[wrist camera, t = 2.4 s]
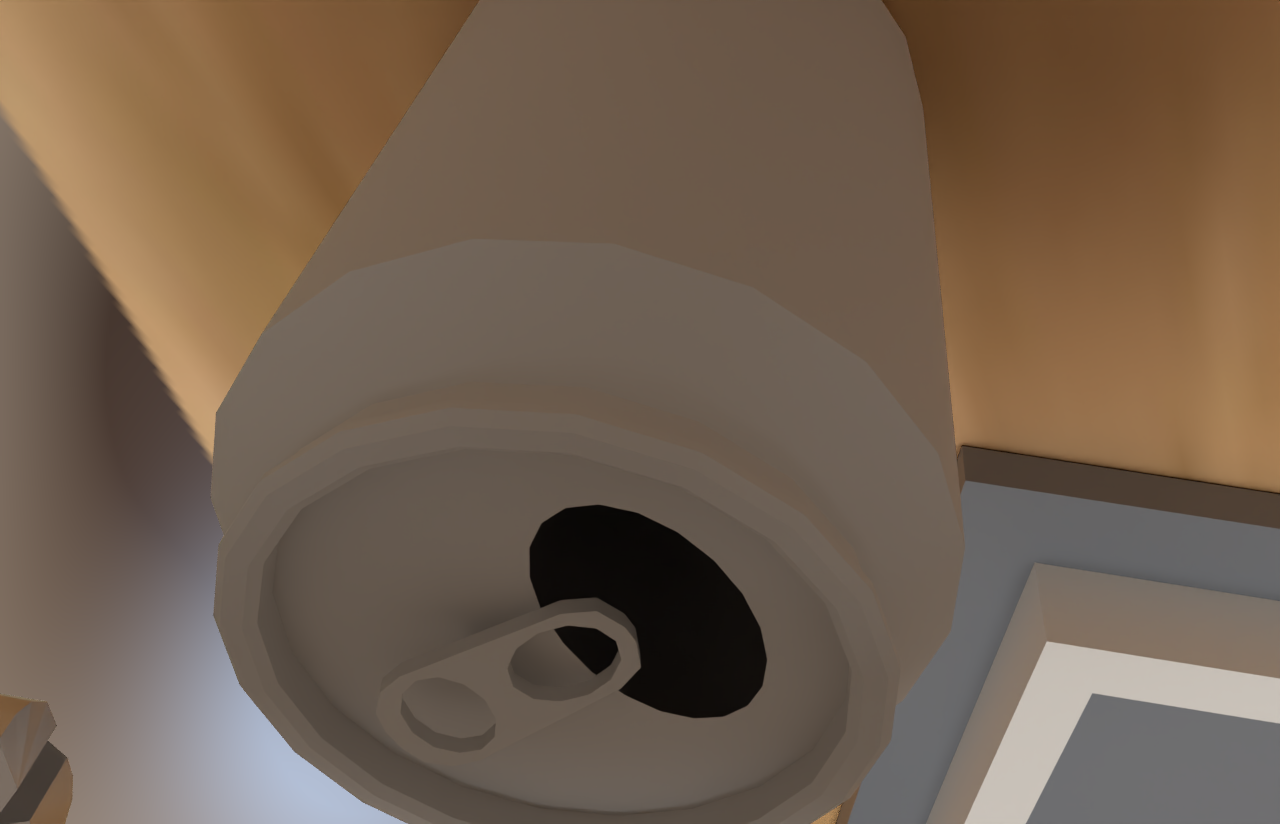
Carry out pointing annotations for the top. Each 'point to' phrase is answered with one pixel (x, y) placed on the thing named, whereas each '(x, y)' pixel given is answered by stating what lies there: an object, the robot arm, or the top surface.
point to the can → (608, 428)
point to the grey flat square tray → (1095, 657)
